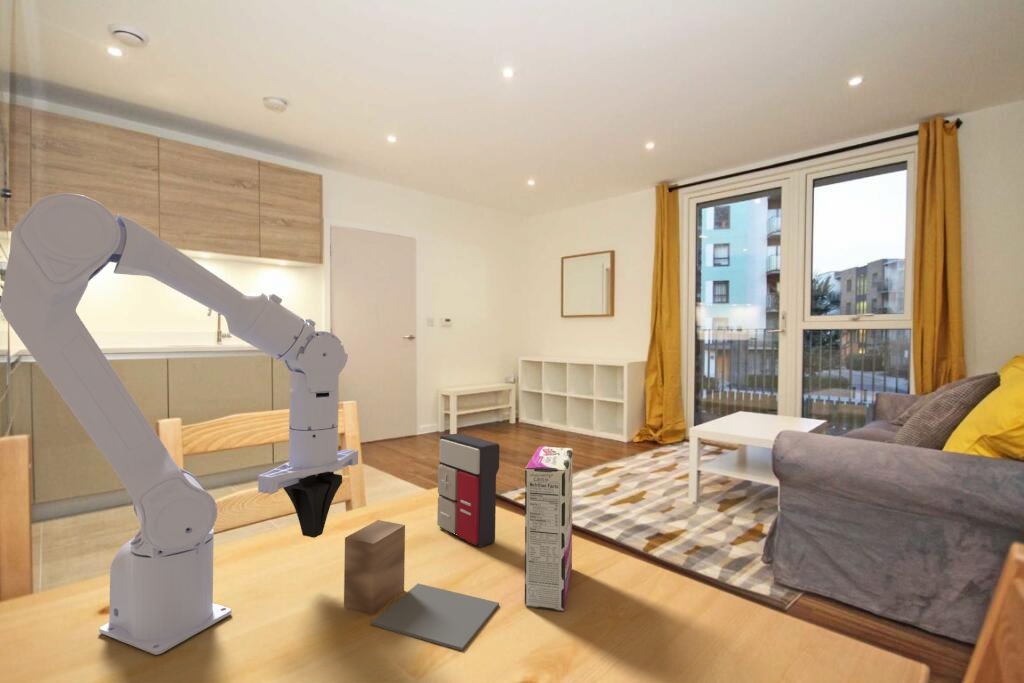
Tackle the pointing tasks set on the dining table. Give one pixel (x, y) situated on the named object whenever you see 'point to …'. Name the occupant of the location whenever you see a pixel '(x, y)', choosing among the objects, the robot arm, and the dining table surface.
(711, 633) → the dining table surface
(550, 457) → the candy bar box
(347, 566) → the walnut block
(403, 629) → the mat
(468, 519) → the calculator
